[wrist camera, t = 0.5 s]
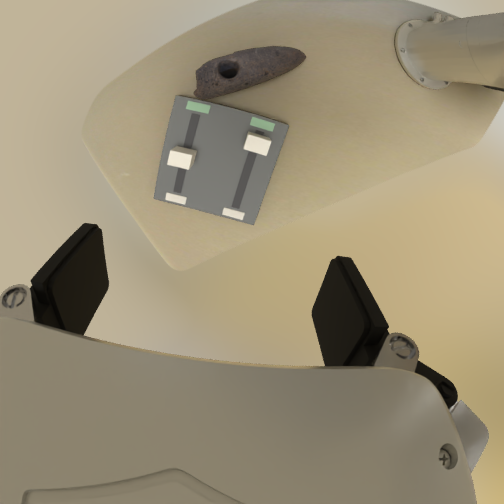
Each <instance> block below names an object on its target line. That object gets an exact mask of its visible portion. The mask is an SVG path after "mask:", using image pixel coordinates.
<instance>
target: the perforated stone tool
mask: <svg viewBox="0 0 504 504" xmlns="http://www.w3.org/2000/svg"><path fill="white" fill-rule="evenodd" d="M305 58H306V55H305V54H304V53H303V52H301V51H300V50H297V49H294V48H289V47H279V46H270V47H261V48H253V49H247V50H242V51H237V52H234V53H233V54H230V55H227V56H223V57H219V58H215V59H213V60H211V61H208V62H207V63H205V64H203V66H202V67H200V68H199V69H198V70H196V79H197V89H196V91H195V92H194V95H195V96H196V97H197V98H201V99H203V100H204V99H209V98H214V97H218V96H221V95H224V94H228V93H232V92H235V91H238V90H241V89H244V88H248V87H250V86H253V85H256V84H259V83H262V82H265V81H267V80H270V79H272V78H274V77H277V76H279V75H282V74H284V73H286V72H288V71H290V70H292V69H293V68H295V67H297V66H298V65H300V64H301V63H302V62H303V61H304V59H305Z"/></svg>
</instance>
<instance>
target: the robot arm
mask: <svg viewBox="0 0 504 504" xmlns="http://www.w3.org/2000/svg"><path fill="white" fill-rule="evenodd" d="M433 18H434V19H433V21H430V22H426V21H423V20H410V21H407V22H405V23H403V24H402V25H401V26H400V27H399V29H398V30H397V33H396V36H395V48H396V52H397V56H398V59H399V61H400V63H401V65H402V67H403V68H404V70H405V71H406V72H407V74H408V75H409V76H410V77H411V78H412V79H413V80H414V81H415V82H417V83H418V84H419V85H421V86H423V87H426V88H429V89H443V88H446V87H447V86H449V85H450V84H451V83H452V82H463V83H472V84H480V85H487V86H493V87H498V88H504V13H496V14H489V15H481V16H474V17H466V18H460V19H454V18H452V17H450V16H445V20H444V22H441V20H442V15H441V14H439V13H437V12H435V13H434V17H433ZM31 283H32V286H31V288H30V289H29V288H28V287H27V286H25V285H22V284H18V285H13V286H11V287H9V288H8V289H6V290H5V291H4V292H3V293H2V294H1V296H0V504H477V501H476V496H475V490H474V485H473V480H472V477H471V472H472V471H473V469H474V467H475V465H476V464H477V462H478V460H479V458H480V456H481V454H482V452H483V450H484V448H485V446H486V444H487V442H488V439H489V433H488V430H487V427H486V426H485V424H484V423H483V422H482V421H481V420H480V419H479V418H478V417H477V416H476V415H475V414H474V413H473V412H472V411H471V409H470V408H469V407H467V405H466V404H465V403H464V402H463V401H462V400H460V401H459V402H458V401H457V398H458V395H457V390H456V388H455V386H454V384H453V383H452V382H451V381H450V380H448V379H447V378H445V377H444V376H442V375H441V374H439V373H437V372H436V371H434V370H433V369H431V368H429V367H428V366H426V365H425V364H423V363H421V362H420V361H418V358H419V350H418V347H417V345H416V344H415V342H414V341H413V340H412V339H411V338H409V337H408V336H406V335H404V334H402V333H391V334H389V332H388V330H387V329H388V328H389V326H388V323H387V322H386V320H385V318H384V316H383V314H382V312H381V310H380V308H379V306H378V305H377V303H376V301H375V299H374V297H373V295H372V293H371V292H370V290H369V288H368V286H367V285H366V283H365V281H364V279H363V278H362V276H361V274H360V272H359V271H358V269H357V267H356V265H355V264H354V262H353V260H352V259H351V258H349V257H342V256H337V257H336V258H335V259H332V260H331V262H330V264H329V267H328V270H327V272H326V275H325V278H324V281H323V283H322V286H321V288H320V291H319V293H318V296H317V298H316V301H315V303H314V306H313V309H312V318H313V322H314V326H315V329H316V333H317V337H318V341H319V345H320V348H321V352H322V356H323V360H324V364H325V366H286V365H266V364H251V363H240V362H229V361H219V360H211V359H202V358H194V357H187V356H181V355H174V354H167V353H161V352H156V351H151V350H145V349H140V348H135V347H130V346H125V345H120V344H116V343H111V342H107V341H102V340H99V339H95V338H91V337H87V336H83V335H84V333H85V331H86V329H87V327H88V325H89V323H90V321H91V320H92V318H93V316H94V314H95V312H96V310H97V308H98V307H99V305H100V303H101V301H102V299H103V297H104V296H105V294H106V292H107V290H108V287H109V280H108V274H107V268H106V260H105V254H104V245H103V236H102V230H101V229H100V228H99V227H98V225H97V224H89V223H84V224H83V225H82V226H81V227H80V228H79V229H78V230H76V232H74V234H73V235H72V236H70V237H69V239H68V240H67V241H66V242H65V243H64V244H63V245H62V246H61V247H60V248H59V249H58V250H57V251H56V252H55V253H54V254H53V255H52V257H51V258H50V259H49V260H48V261H47V262H46V263H45V264H44V265H43V267H42V268H41V269H40V270H39V271H38V272H37V274H36V275H35V276H34V277H33V278H32V279H31Z"/></svg>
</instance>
